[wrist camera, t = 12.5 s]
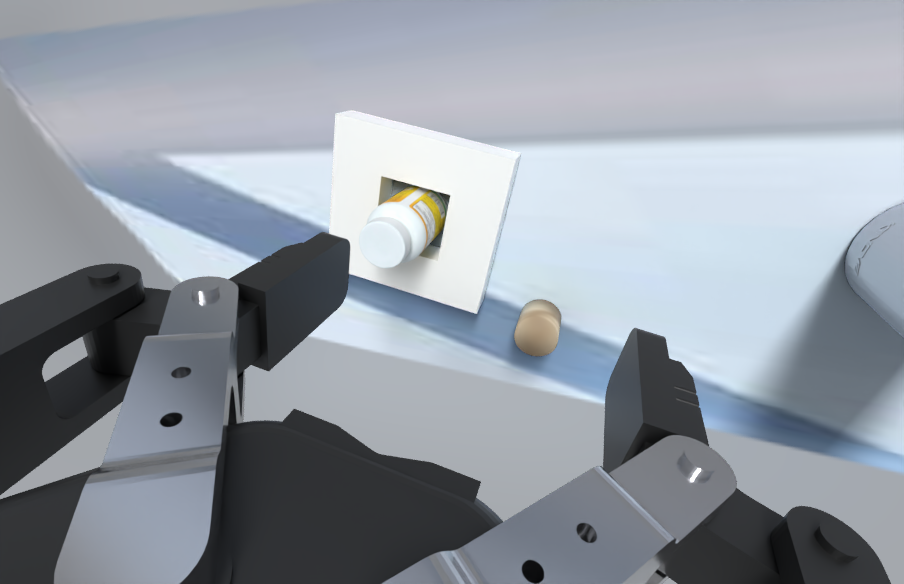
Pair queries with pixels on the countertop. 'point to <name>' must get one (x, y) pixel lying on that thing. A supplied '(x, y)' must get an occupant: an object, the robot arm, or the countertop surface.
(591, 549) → the robot arm
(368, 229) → the supplement bottle
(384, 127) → the collar block
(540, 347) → the short birch peg
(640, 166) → the countertop surface
